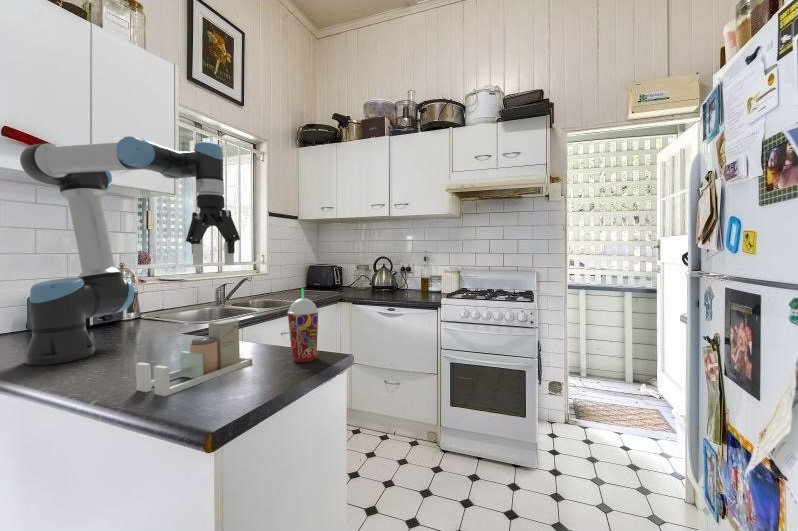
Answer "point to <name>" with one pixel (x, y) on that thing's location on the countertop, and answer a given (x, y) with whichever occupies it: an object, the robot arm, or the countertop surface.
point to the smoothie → (303, 329)
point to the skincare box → (226, 341)
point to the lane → (163, 379)
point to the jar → (206, 352)
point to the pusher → (189, 365)
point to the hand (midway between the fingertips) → (213, 264)
